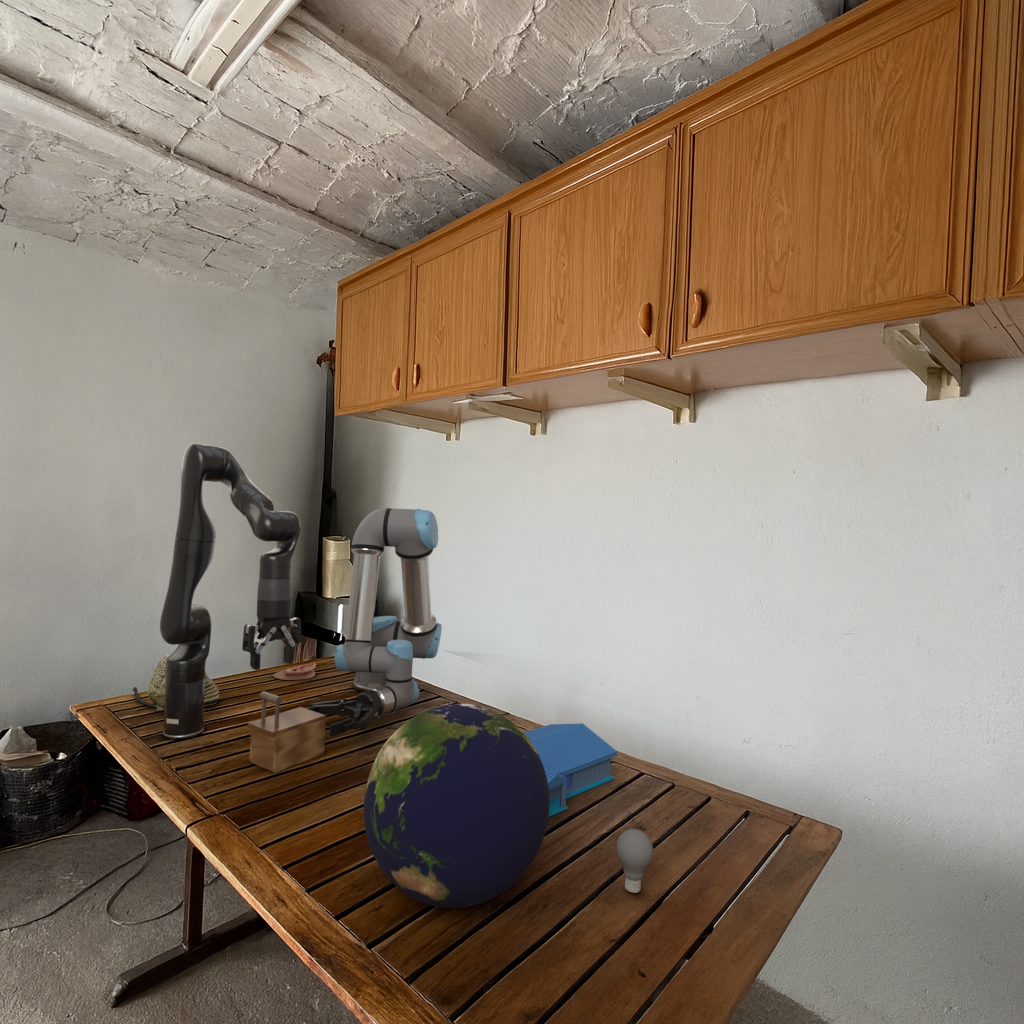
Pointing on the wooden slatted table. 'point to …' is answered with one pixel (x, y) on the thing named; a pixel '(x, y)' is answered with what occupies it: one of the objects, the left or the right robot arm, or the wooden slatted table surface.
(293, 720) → the lid
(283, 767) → the chest
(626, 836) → the light bulb
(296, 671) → the anatomical model
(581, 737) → the model building
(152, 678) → the fossil
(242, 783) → the wooden slatted table surface
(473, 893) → the globe
